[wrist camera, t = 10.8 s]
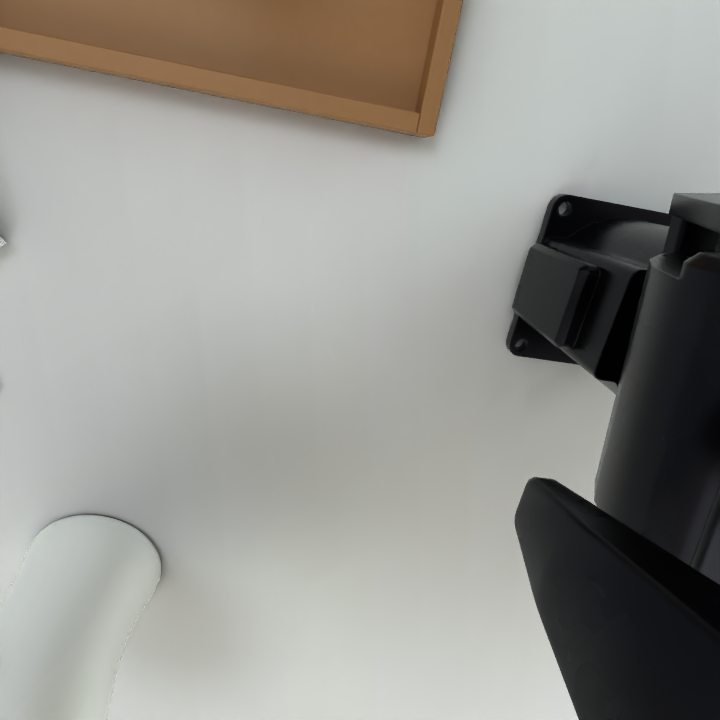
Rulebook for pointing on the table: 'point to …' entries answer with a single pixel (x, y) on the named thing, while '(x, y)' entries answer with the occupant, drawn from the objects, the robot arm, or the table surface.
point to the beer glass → (72, 617)
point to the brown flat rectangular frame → (258, 51)
